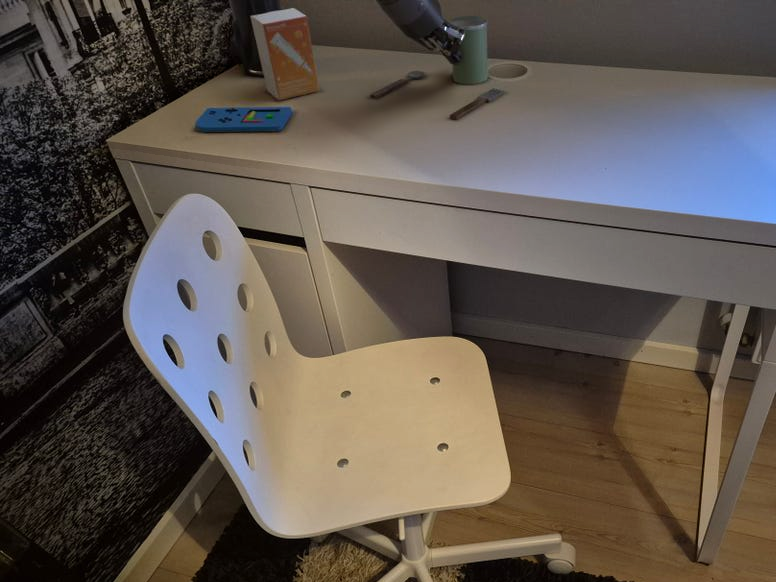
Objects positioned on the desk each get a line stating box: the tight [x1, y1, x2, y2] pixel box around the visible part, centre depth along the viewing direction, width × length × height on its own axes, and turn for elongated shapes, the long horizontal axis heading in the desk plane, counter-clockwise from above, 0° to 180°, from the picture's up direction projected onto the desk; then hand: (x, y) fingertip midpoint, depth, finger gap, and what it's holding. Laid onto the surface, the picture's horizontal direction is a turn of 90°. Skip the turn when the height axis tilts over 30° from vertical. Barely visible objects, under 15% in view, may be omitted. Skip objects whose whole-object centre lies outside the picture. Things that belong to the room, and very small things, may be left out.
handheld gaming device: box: [194, 106, 293, 133], centre depth 113 cm, size 8×1×15 cm
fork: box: [449, 87, 505, 121], centre depth 116 cm, size 14×2×1 cm, turn 146°
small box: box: [250, 7, 320, 101], centre depth 119 cm, size 8×6×13 cm
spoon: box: [369, 70, 425, 100], centre depth 124 cm, size 14×3×1 cm, turn 146°
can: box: [449, 15, 489, 85], centre depth 123 cm, size 7×7×10 cm
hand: (457, 59), depth 121 cm, fingers closed
